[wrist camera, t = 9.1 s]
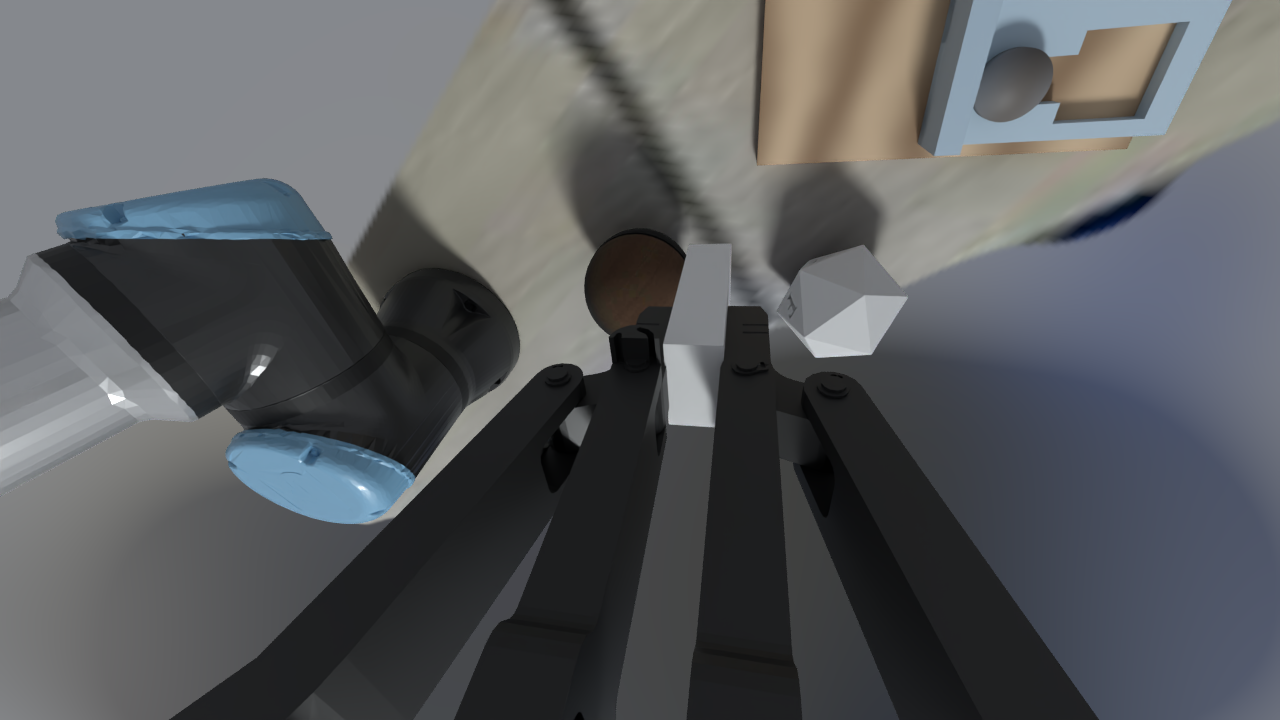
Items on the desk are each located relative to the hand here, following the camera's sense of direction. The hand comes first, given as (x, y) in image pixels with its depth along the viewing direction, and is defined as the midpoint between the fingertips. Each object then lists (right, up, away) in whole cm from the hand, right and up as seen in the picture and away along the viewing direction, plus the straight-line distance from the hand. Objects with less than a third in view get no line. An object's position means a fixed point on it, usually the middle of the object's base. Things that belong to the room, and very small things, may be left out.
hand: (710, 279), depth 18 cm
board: (+18, +20, +12) cm, 29 cm away
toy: (-1, +6, +27) cm, 27 cm away
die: (+14, +4, +25) cm, 29 cm away
